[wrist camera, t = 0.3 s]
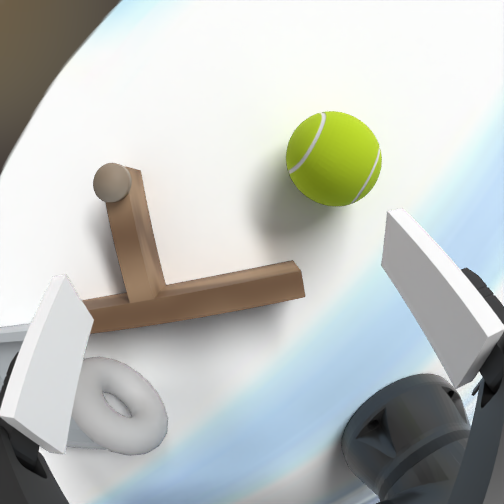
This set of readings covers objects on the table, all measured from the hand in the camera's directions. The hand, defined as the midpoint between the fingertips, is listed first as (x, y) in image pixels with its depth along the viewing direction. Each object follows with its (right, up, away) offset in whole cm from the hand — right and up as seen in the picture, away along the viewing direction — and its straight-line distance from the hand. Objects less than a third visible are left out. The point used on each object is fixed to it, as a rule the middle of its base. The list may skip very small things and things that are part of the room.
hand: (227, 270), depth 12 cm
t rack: (-7, +2, +14) cm, 16 cm away
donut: (-11, -11, +16) cm, 23 cm away
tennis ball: (+7, +8, +14) cm, 17 cm away
